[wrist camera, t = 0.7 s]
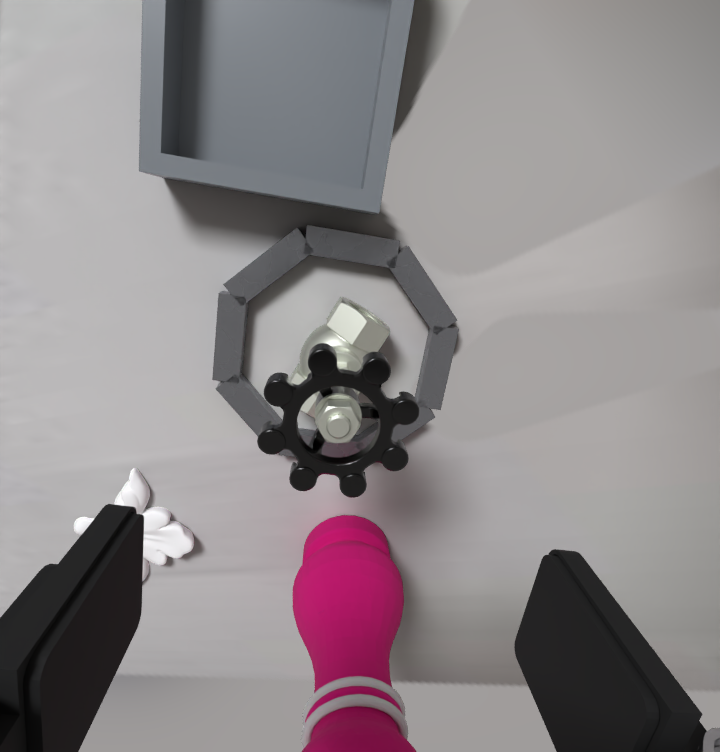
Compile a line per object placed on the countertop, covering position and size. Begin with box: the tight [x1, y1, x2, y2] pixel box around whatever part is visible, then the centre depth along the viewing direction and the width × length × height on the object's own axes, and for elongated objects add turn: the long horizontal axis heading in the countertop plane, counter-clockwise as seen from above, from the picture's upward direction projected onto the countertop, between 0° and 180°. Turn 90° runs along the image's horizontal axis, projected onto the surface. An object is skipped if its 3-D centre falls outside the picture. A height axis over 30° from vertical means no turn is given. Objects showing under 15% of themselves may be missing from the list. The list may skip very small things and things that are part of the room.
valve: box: [257, 297, 420, 497], centre depth 24 cm, size 7×7×12 cm
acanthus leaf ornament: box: [74, 468, 194, 582], centre depth 33 cm, size 8×7×2 cm
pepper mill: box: [293, 515, 416, 752], centre depth 25 cm, size 7×7×20 cm
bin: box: [139, 0, 414, 214], centre depth 23 cm, size 13×12×4 cm
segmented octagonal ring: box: [213, 225, 459, 457], centre depth 30 cm, size 15×15×1 cm
